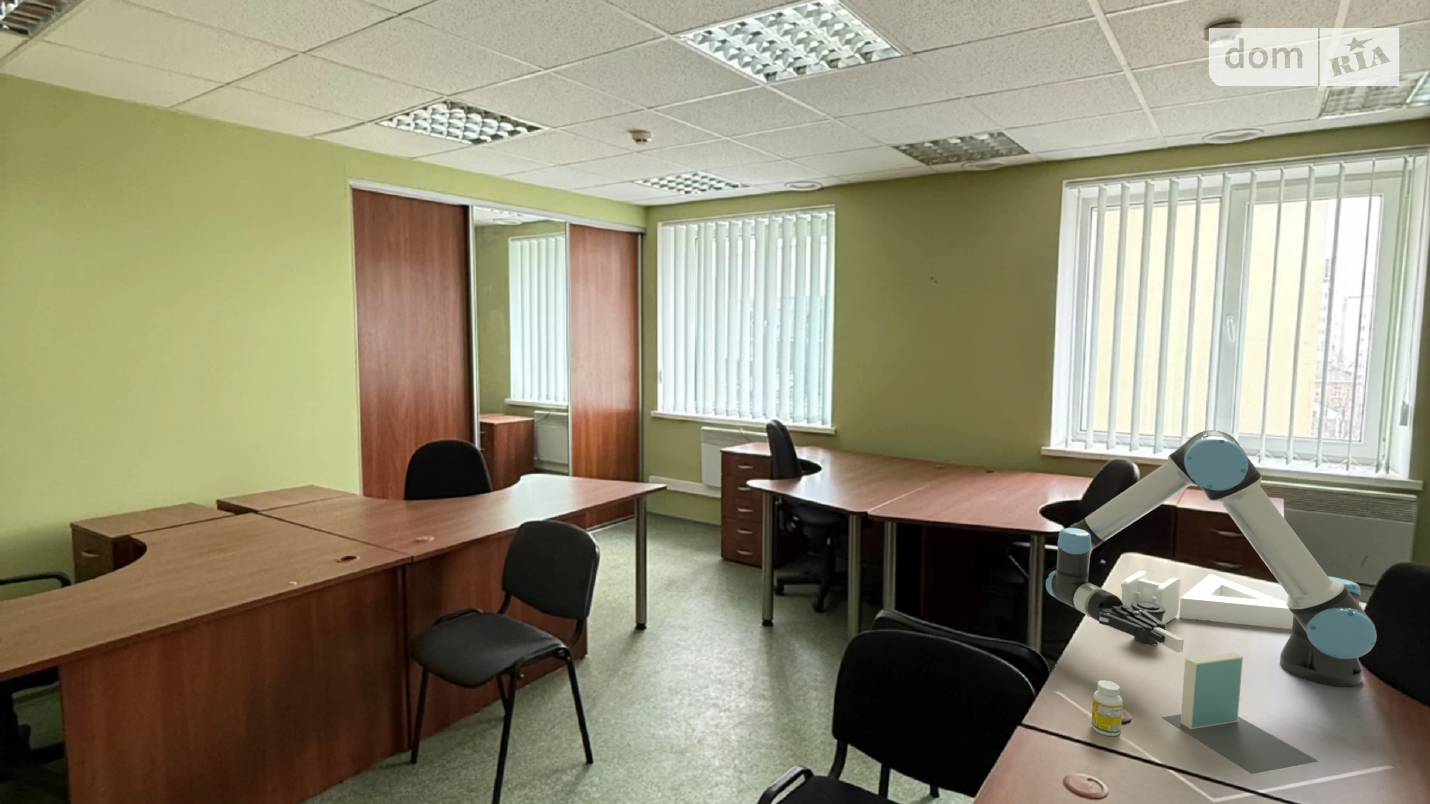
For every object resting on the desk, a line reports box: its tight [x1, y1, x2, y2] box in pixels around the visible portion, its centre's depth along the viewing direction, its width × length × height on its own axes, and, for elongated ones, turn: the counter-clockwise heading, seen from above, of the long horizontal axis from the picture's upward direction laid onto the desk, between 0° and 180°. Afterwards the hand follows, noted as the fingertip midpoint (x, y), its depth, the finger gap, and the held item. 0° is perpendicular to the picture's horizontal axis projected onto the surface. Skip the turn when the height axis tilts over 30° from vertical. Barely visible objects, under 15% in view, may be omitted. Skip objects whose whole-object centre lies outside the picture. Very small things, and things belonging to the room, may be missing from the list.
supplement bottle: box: [1091, 679, 1124, 737], centre depth 151 cm, size 5×5×10 cm
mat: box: [1161, 713, 1319, 775], centre depth 147 cm, size 20×16×1 cm
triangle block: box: [1178, 573, 1293, 630], centre depth 217 cm, size 30×26×6 cm
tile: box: [1180, 651, 1244, 729], centre depth 152 cm, size 2×12×14 cm, turn 104°
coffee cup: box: [1130, 601, 1166, 646], centre depth 193 cm, size 8×8×10 cm
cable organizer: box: [1120, 570, 1181, 625], centre depth 208 cm, size 15×11×12 cm
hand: (1180, 645), depth 159 cm, fingers closed
